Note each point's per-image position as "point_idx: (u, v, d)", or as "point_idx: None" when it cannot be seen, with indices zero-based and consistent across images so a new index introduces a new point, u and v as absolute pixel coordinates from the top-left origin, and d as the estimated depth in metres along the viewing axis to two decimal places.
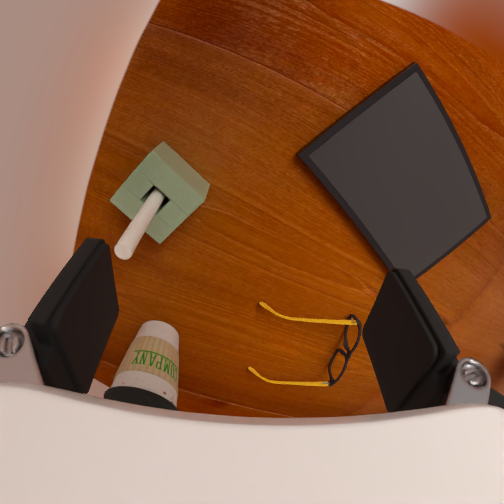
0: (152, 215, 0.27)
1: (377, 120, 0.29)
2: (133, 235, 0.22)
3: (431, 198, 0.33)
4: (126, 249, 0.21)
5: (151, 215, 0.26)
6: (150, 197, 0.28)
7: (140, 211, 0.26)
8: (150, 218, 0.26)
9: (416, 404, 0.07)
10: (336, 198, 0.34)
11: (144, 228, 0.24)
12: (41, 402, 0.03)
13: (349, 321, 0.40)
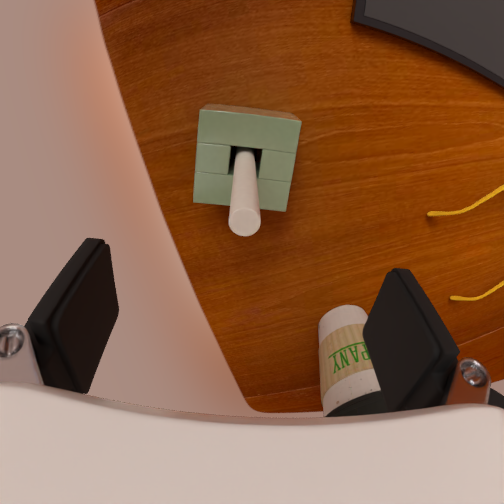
0: (253, 171, 0.19)
1: None
2: (245, 195, 0.15)
3: None
4: (247, 215, 0.14)
5: (253, 171, 0.19)
6: (237, 159, 0.21)
7: (235, 174, 0.18)
8: (253, 174, 0.18)
9: (416, 404, 0.07)
10: (423, 43, 0.19)
11: (254, 185, 0.17)
12: (41, 402, 0.03)
13: None
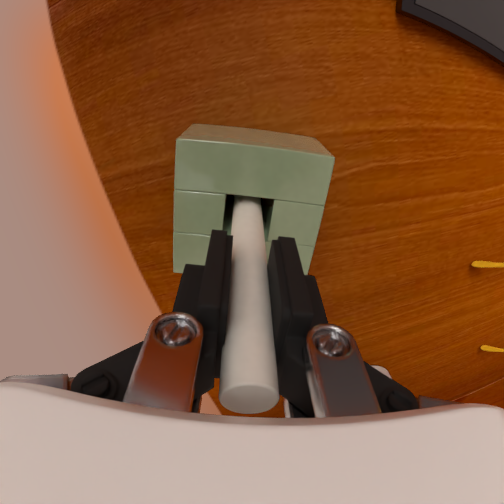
0: (262, 249, 0.12)
1: None
2: (249, 336, 0.08)
3: None
4: (255, 392, 0.07)
5: (261, 251, 0.11)
6: (235, 219, 0.14)
7: (232, 259, 0.11)
8: (262, 258, 0.11)
9: (279, 372, 0.08)
10: (485, 49, 0.12)
11: (265, 292, 0.10)
12: (41, 402, 0.03)
13: None
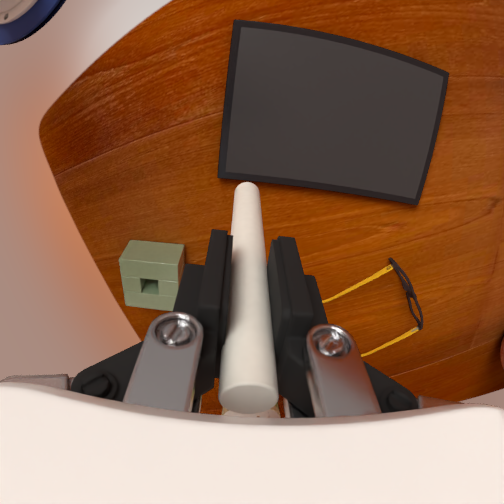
0: (261, 251, 0.12)
1: (249, 96, 0.29)
2: (249, 336, 0.08)
3: (365, 110, 0.29)
4: (254, 392, 0.07)
5: (261, 252, 0.12)
6: (235, 221, 0.14)
7: None
8: (262, 260, 0.11)
9: (279, 371, 0.08)
10: (279, 182, 0.34)
11: (264, 293, 0.10)
12: (41, 402, 0.03)
13: (384, 269, 0.37)
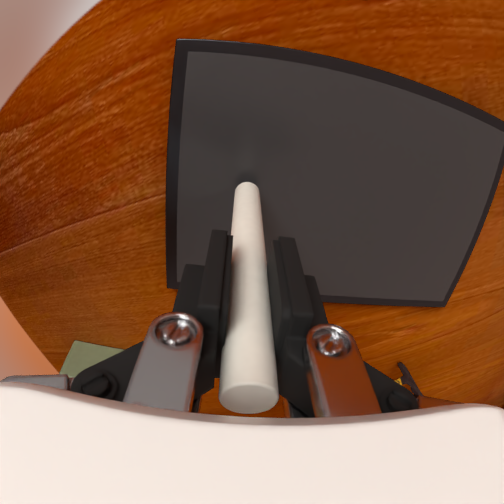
0: (262, 251, 0.12)
1: (205, 173, 0.18)
2: (249, 336, 0.08)
3: (393, 190, 0.19)
4: (254, 392, 0.07)
5: (261, 252, 0.12)
6: (235, 221, 0.14)
7: (232, 260, 0.11)
8: (262, 260, 0.11)
9: (279, 372, 0.08)
10: None
11: (264, 293, 0.10)
12: (41, 402, 0.03)
13: None
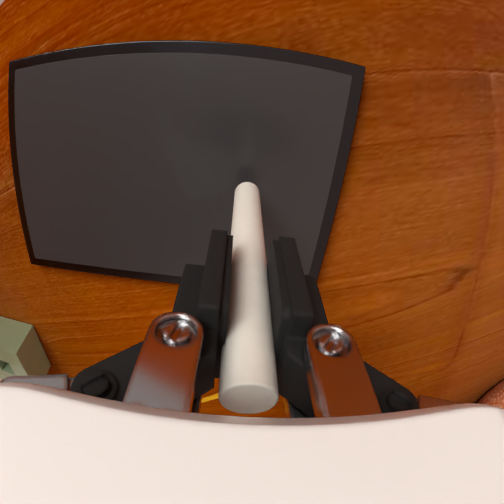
0: (262, 251, 0.12)
1: (33, 164, 0.18)
2: (249, 336, 0.08)
3: (191, 159, 0.19)
4: (254, 392, 0.07)
5: (261, 252, 0.12)
6: (235, 221, 0.14)
7: None
8: (262, 260, 0.11)
9: (279, 371, 0.08)
10: (93, 271, 0.23)
11: (264, 293, 0.10)
12: (41, 402, 0.03)
13: None
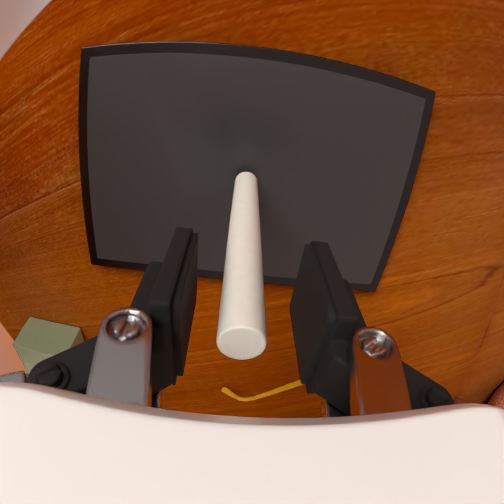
0: (257, 229, 0.13)
1: (108, 159, 0.19)
2: (242, 292, 0.09)
3: (286, 164, 0.20)
4: (246, 336, 0.08)
5: (256, 230, 0.13)
6: (234, 204, 0.16)
7: (230, 236, 0.13)
8: (256, 236, 0.13)
9: (320, 374, 0.08)
10: None
11: (257, 261, 0.11)
12: (41, 402, 0.03)
13: None
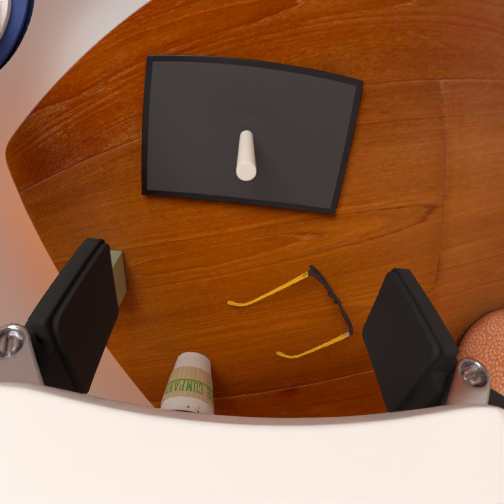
0: (252, 147, 0.27)
1: (162, 123, 0.33)
2: (246, 157, 0.23)
3: (270, 127, 0.33)
4: (248, 166, 0.22)
5: (252, 146, 0.26)
6: (240, 141, 0.29)
7: (239, 148, 0.26)
8: (252, 148, 0.26)
9: (416, 404, 0.07)
10: (193, 197, 0.38)
11: (252, 153, 0.24)
12: (41, 402, 0.03)
13: (300, 276, 0.41)
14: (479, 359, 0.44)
